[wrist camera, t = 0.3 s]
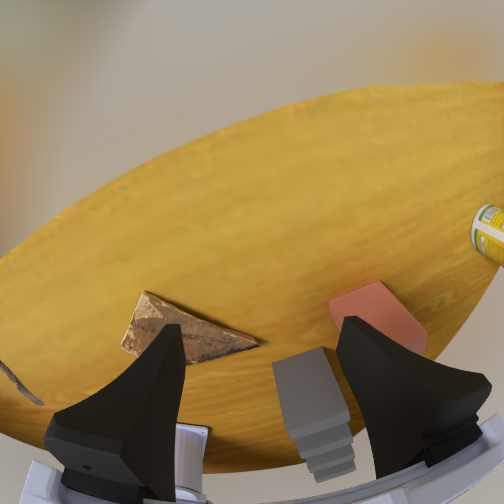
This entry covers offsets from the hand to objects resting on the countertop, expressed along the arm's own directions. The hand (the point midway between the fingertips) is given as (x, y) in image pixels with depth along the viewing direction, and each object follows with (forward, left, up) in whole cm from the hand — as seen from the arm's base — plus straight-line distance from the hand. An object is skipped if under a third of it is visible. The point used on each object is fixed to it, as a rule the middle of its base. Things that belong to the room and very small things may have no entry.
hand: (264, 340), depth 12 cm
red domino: (-3, -10, -10) cm, 14 cm away
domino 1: (-10, -7, -10) cm, 16 cm away
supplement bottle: (+7, -24, -10) cm, 27 cm away
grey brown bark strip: (-26, +29, -10) cm, 40 cm away
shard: (-7, +5, -11) cm, 14 cm away
